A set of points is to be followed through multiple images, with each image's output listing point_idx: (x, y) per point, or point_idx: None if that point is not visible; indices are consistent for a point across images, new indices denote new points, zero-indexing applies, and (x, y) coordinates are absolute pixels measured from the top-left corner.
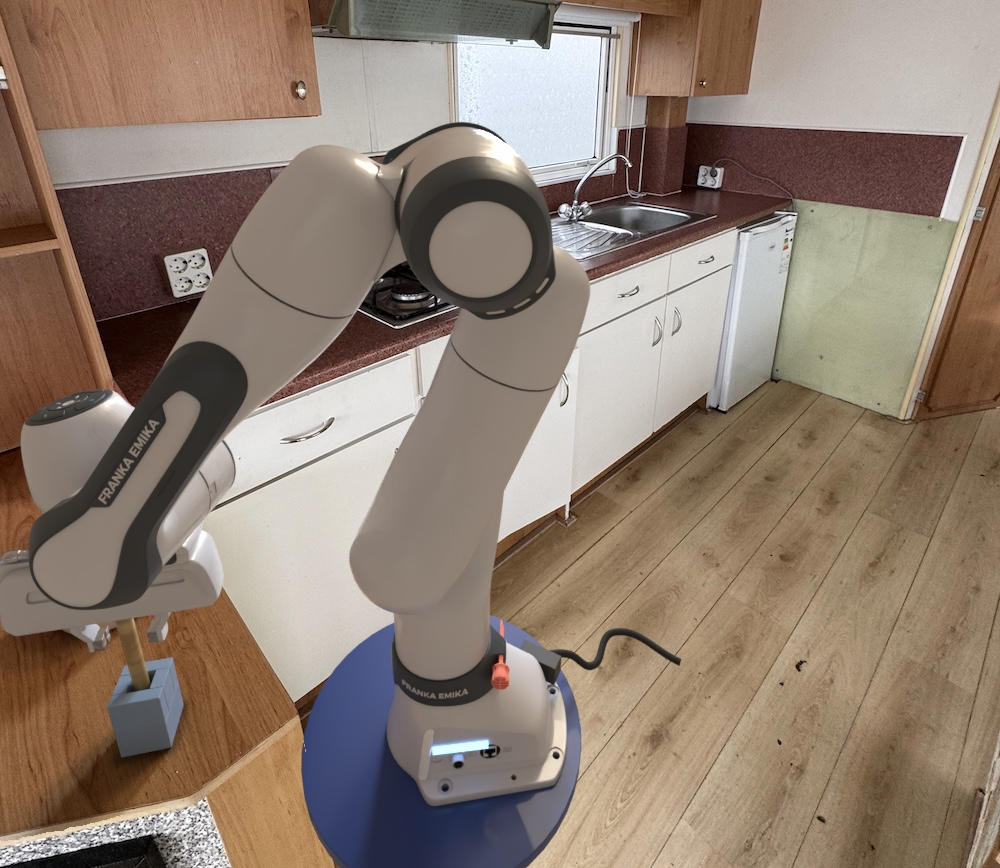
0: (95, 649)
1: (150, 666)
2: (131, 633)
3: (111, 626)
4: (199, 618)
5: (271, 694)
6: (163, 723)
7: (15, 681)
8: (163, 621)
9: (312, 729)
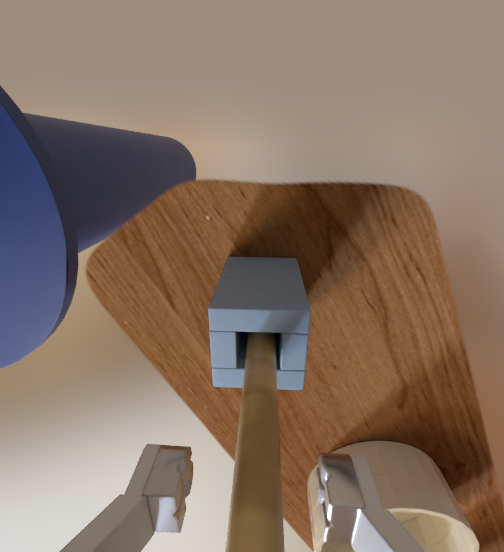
0: (349, 465)
1: None
2: (235, 500)
3: (362, 446)
4: None
5: (106, 303)
6: (223, 277)
7: (471, 398)
8: (80, 546)
9: (56, 249)
